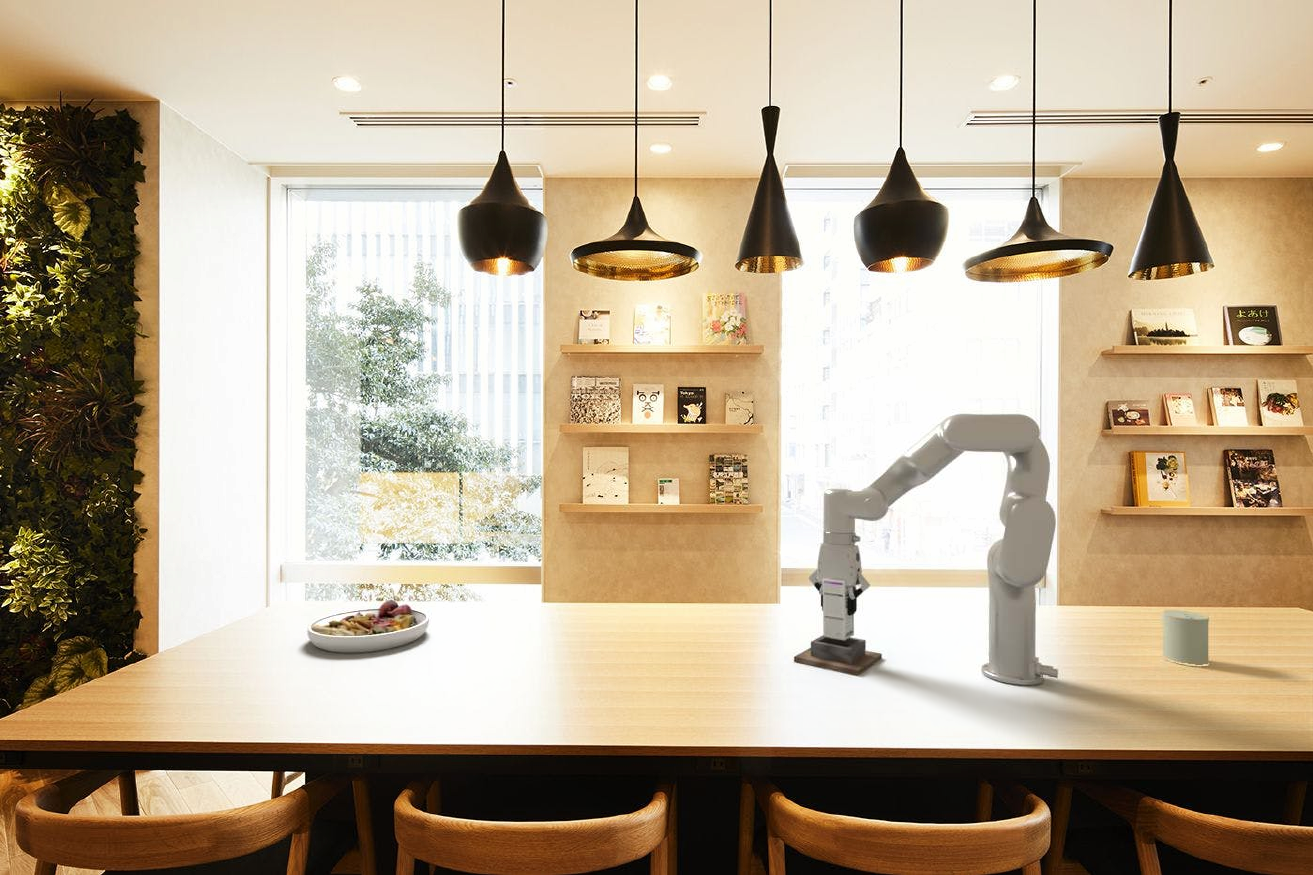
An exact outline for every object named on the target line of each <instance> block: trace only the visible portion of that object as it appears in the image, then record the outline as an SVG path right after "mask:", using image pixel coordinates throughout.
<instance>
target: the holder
mask: <svg viewBox="0 0 1313 875" xmlns="http://www.w3.org/2000/svg"><path fill="white" fill-rule="evenodd" d="M866 640H867V639H862V638H856V637H853V636H851V637H849V638H847V639H846V640H845V641H844V640H839V639H833V638H828V637H825V636H823V635H821V636H818V637H817V638H815V639H814V640H812V641H811V640H810V647H808V649H806V650H804V651H801V652H800V653H798V654H796V655H795V656H793V662H794V663H799V664H802V665H803V664H804V665H806V666H807V665H808V666H813V667H817V668H821V669H826V670H831V671H836V672H840V673H844V674H849V675H853V676H857V677H858V676H860V675H861V674H863V673H864V672H865V671H867V670H868V669H869V668H871V667H873V665H875V664H877V663H878V662H879V661H880V660H882V658H883V657H882V656H883V654H882V653H879V652H876V651H870V650H866V647H867V646H866V642H867V641H866Z"/></svg>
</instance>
